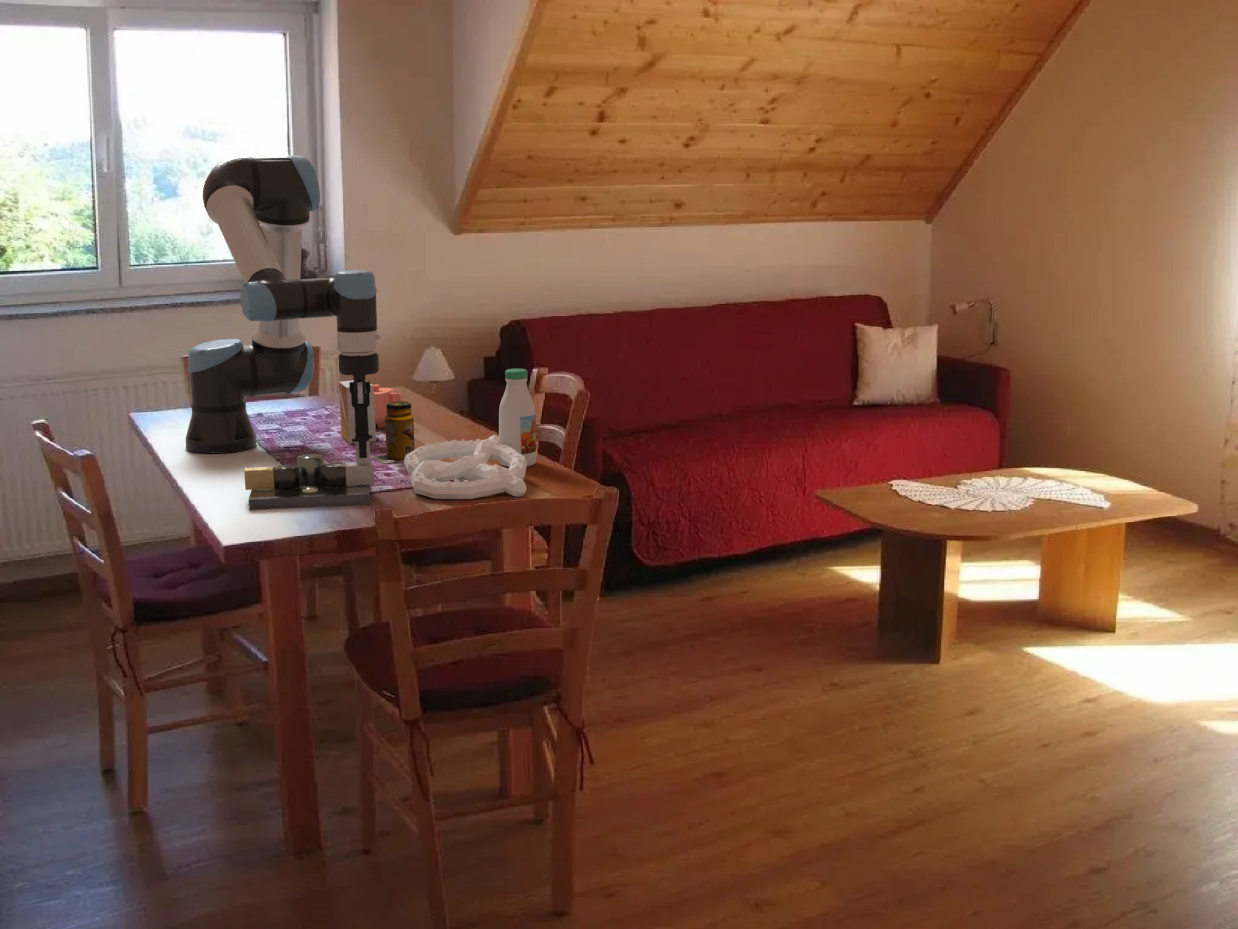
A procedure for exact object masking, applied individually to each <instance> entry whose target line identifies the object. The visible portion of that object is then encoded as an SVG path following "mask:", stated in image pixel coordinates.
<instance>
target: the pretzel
mask: <svg viewBox="0 0 1238 929" xmlns="http://www.w3.org/2000/svg"><path fill="white" fill-rule="evenodd" d="M503 444H504V443H503V441H502V438H501V437H499V435H497V434H494V435H490V436H489V437H488V438H486V439H483V440H482V439H481V438H480V439H479V438H476V439H475V440H473V439H471V440H470V439H469V440H465V439H463V438H462V439H461V440H457V439H453V440H450V441H448V440H444V441H443V442H437V441H436V442H435V443H434V444H433V443H432V444H430V443H426V444H424V446H423V445H422V446H418V447H417V448H416V449H415V450H414V451H412V452H411V453H409V454H407V455H406V456H405V459H404V461H403V462H404V466H405V469H406V473H407V474H408V476H409V477H410V478H409V479H410V482H411V486H412V489H413V491H414V493H415V494H417V495H421V496H425V497H428V498H432V499H436V500H472V499H478V498H482V497H487V496H491V495H496V494H501V493H504V492H506V493H507V494H509V495H511V496H513V497H518V498H520V497H523V496H524V495H525V493H526V491H527V484H526V483H525V481H524V479H525V477H526V473H527V472H526V471H527V467H528V466H527V461H526V459H525V457H524V456H522V455H521V454H520V453H518V452H517V451H516V450H514V449H512V448H511V447H508V446H507V445H503ZM450 458H459V459H457V460H456V461H450V462H447V461H443V459H450ZM489 460H492V461H499V462H500V461H501V462H503V463H504V464H505V465H507V466H506V467H505V466H504V467H503V466H502V465H499V464H498V463H494V464H493V465H492V464H488V463H489ZM507 467H508V468H507Z"/></svg>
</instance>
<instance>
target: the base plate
mask: <svg viewBox="0 0 1238 929" xmlns="http://www.w3.org/2000/svg"><path fill="white" fill-rule="evenodd" d="M324 461H325V460H324V455H323V454H318V453H310V454H309V453H307V454H300V455H298V456H297V457H296V464H297V466H299V477H300V487H298V488H295V489H290V490H278V489H256V490H250V494H249V497H248V509H249V511H254V510H255V511H257V510H277V509H280V510H283V509H299V508H319V507H323V508H324V507H340V506H341V507H343V506H345V507H346V506H361V505H363V506H364V505H366V506H367V505H371V497H370V496H371V494H370V493H371V492H370V484H368V485H346V486H343V487H336V488H328V487H323V486H322V485H321V468H320V466H321V465H323V464H325V463H324Z"/></svg>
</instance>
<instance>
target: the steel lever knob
mask: <svg viewBox="0 0 1238 929" xmlns="http://www.w3.org/2000/svg"><path fill="white" fill-rule="evenodd" d="M374 466H375V464H374V462H370V463H356V462H355V463H345V462H328V463H327V462H326V463H324V464H323V465H321V466H320V468H321V485H322V486H323V487H328V488H336V487H343V486H346V485H368V484H369V485H375V468H374Z"/></svg>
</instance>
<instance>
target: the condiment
mask: <svg viewBox="0 0 1238 929" xmlns="http://www.w3.org/2000/svg"><path fill="white" fill-rule="evenodd" d="M386 407H387V411H386V413H387V415H386V417H385V430H384V431H385V450H386V452H385V454H382V455H372V456H371V458H373V459H375V460H376V461H379V462H381V463H383V464H385V465H386V464H392V463H399V462H404V461H403V460H404V459H405V456H406V455H407V454H409V453H411V452H412V451H414V450H416V449H415V447H416V446H415V445H416V444H415V429H414V428H415V424H414V423H415V422H414V420H415V419H414V415H413V414H412V412H413V410H412V403H411V402H408V401H403V402H402V401H397V402H390V403H388V404H387V406H386ZM387 460H394V461H393V462H392V461H387ZM397 461H398V462H397Z"/></svg>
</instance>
